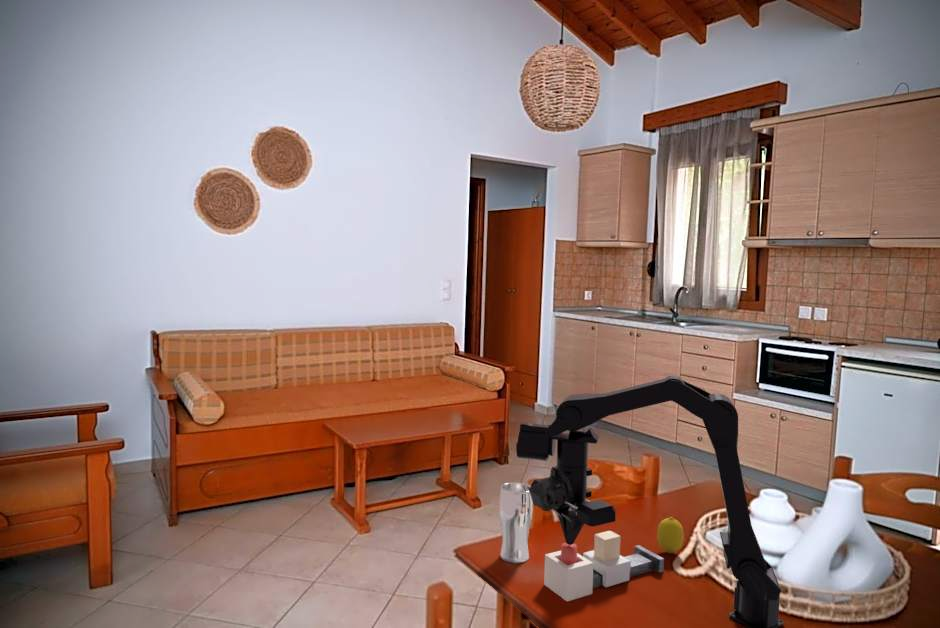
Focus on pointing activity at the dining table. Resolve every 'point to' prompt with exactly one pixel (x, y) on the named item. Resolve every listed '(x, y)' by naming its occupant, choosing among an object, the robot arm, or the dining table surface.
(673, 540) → the lemon
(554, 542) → the dining table surface
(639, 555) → the rail
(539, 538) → the dining table surface
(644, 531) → the dining table surface
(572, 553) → the red cylinder
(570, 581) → the white open box
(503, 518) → the beer glass
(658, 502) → the dining table surface
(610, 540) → the carriage
